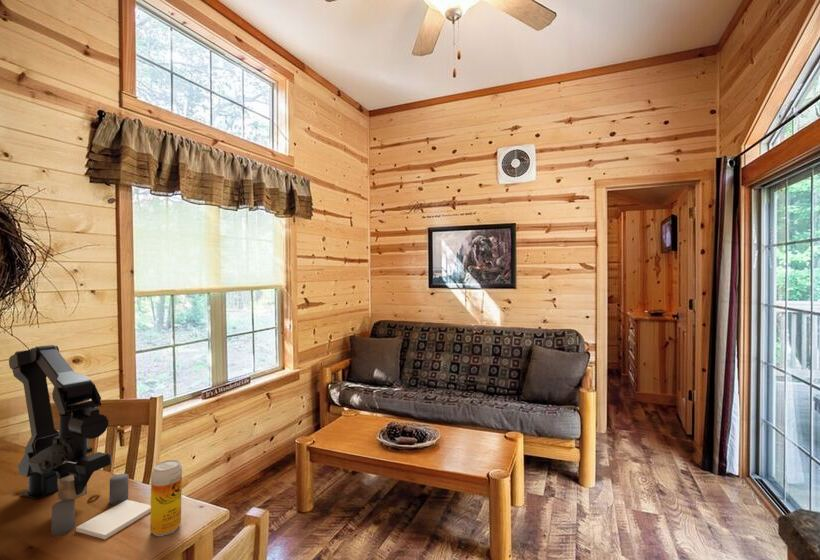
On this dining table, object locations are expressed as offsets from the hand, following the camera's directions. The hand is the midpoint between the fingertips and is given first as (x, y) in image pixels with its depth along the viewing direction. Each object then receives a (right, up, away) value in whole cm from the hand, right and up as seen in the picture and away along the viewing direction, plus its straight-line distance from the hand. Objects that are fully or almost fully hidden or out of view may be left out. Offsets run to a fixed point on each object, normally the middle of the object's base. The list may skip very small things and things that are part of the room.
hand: (72, 492), depth 100 cm
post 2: (+9, -4, +4) cm, 10 cm away
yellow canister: (+28, -5, -7) cm, 29 cm away
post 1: (+5, -4, -8) cm, 10 cm away
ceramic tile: (+14, -4, -4) cm, 15 cm away
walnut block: (0, -1, 0) cm, 1 cm away
